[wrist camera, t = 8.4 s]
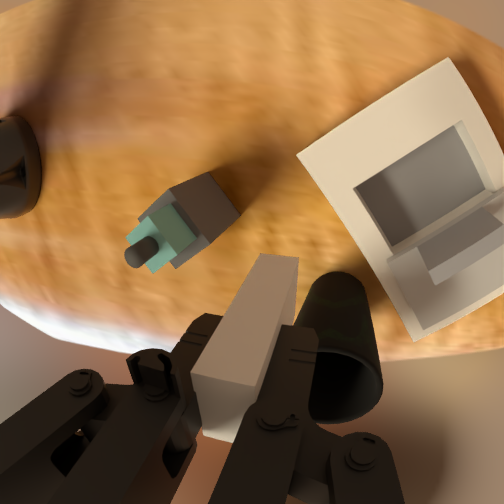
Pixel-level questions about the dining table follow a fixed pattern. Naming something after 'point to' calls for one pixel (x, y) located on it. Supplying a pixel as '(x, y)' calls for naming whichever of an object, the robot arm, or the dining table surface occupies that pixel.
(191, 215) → the plug
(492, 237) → the panel
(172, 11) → the dining table surface
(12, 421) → the robot arm
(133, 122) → the dining table surface
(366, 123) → the socket board
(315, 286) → the cup
